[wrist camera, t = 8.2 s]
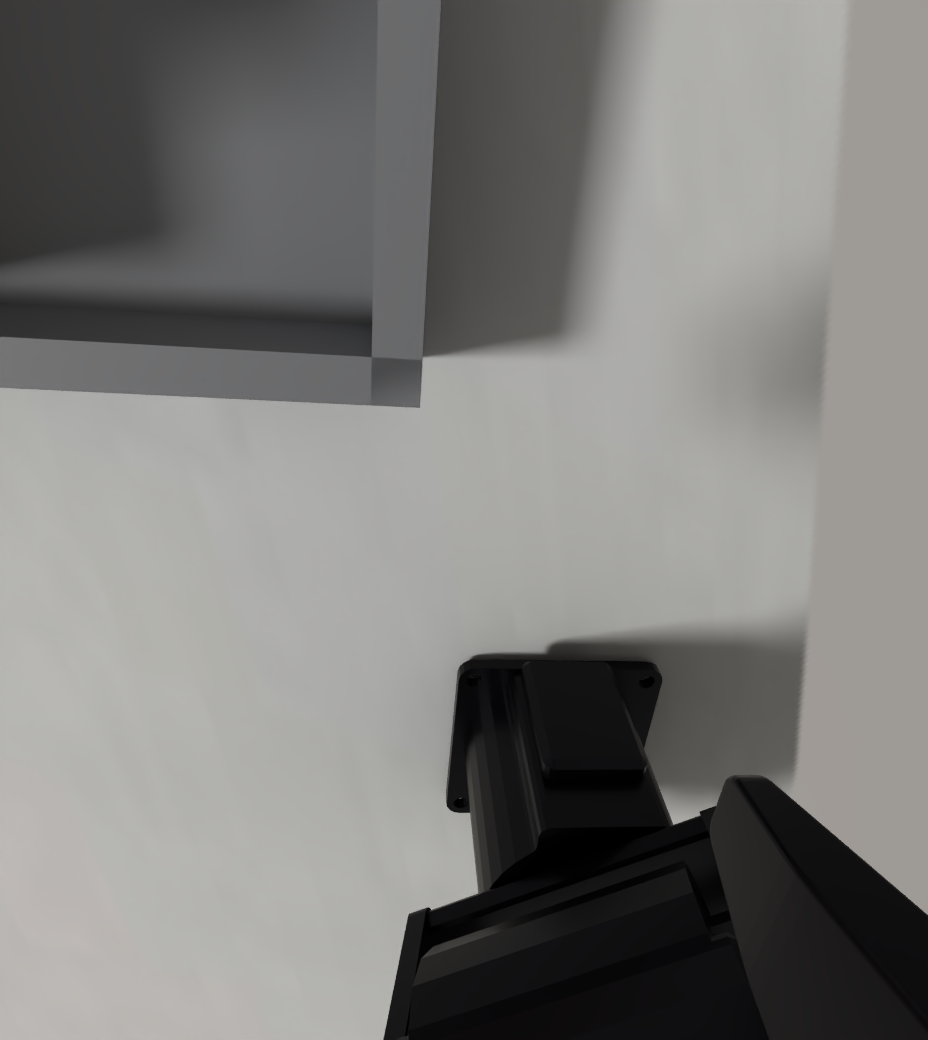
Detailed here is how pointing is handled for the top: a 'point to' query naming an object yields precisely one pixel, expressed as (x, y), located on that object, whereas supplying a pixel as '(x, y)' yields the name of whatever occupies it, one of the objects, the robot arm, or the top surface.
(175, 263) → the bay
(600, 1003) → the robot arm
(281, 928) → the top surface
